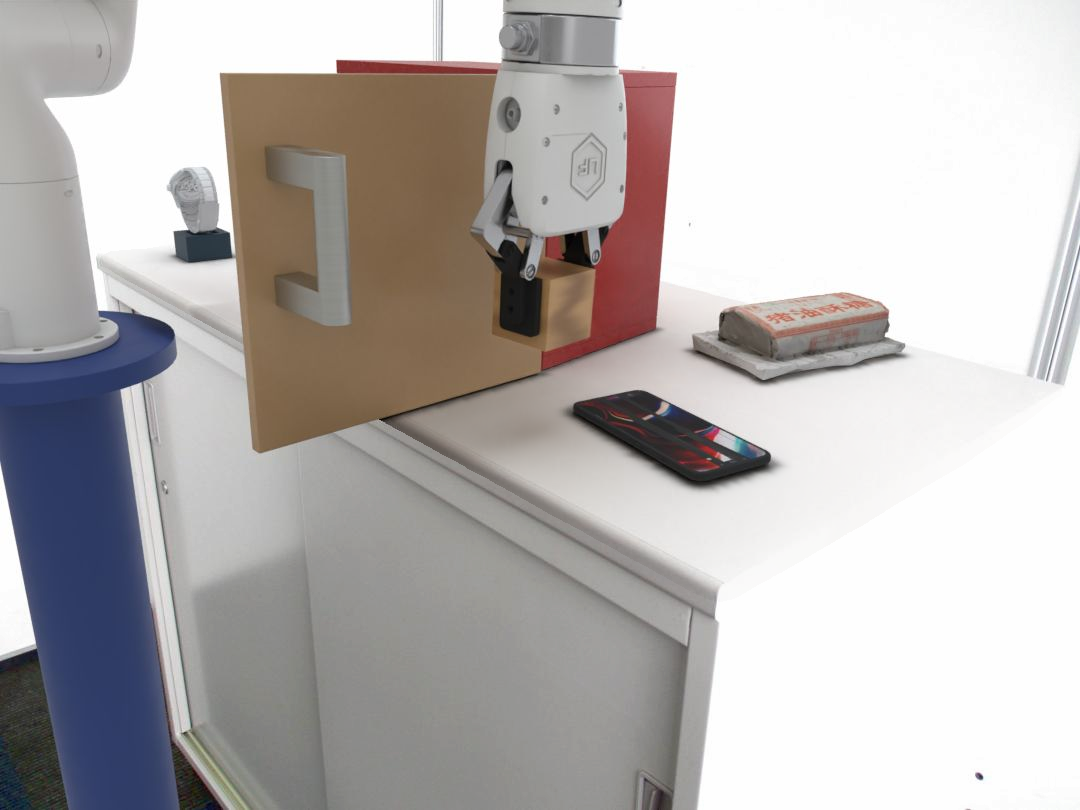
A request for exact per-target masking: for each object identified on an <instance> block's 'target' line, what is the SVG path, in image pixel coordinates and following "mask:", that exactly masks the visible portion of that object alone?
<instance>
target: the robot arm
mask: <svg viewBox="0 0 1080 810" xmlns="http://www.w3.org/2000/svg"><path fill="white" fill-rule="evenodd" d="M138 7H139V0H0V363H13V364H22V363H44V362H53V361H60V360H66V359H72V358H77V357H81V356H85V355H89V354H92V353H96V352H98V351H101V350H103V349H106V348H108V347H109V346H111V345H113V344H114V343H115V342H116V341H117V340H118V338H119V329H118V326H117V324H116V323H114V322H113V321H111V320H109V319H106V318H102V317H99V312H98V311H99V306H98V299H97V292H96V286H95V278H94V271H93V264H92V258H91V257H92V256H91V251H90V244H89V238H88V237H89V236H88V230H87V224H86V223H87V222H86V217H85V210H84V203H83V196H82V190H81V183H80V177H79V172H78V171H79V170H78V164H77V159H76V158H77V157H76V154H75V151H74V147H73V145H72V142H71V140H70V137H69V136H68V134H67V132H66V130H65V129H64V127H63V126H62V125H61V123H60V121H58V119H57V118H56V116H55V115H54V114H53V112H52V111H51V109H50V107H49V106H48V104H47V103H46V101H45V100H46V99H59V98H60V99H61V98H83V97H94V96H100V95H105V94H107V93H110V92H112V91H114V90H115V89H117V88H118V87H119V86H120V85H121V84H122V83H123V82H124V80H125V79H126V76H127V75H128V73H129V70H130V67H131V64H132V61H133V60H132V59H133V54H134V46H135V39H136V28H137V17H138ZM624 9H625V0H502V12H503V13H502V24H501V25H502V27H501V29H500V30H499V33H498V41H499V44H500V46H501V56H500V59H501V61H500V63H501V70H498V73H497V77H496V82H495V87H494V92H493V98H492V104H491V110H490V117H489V125H488V133H487V142H486V155H485V170H484V203H483V204H482V206H481V208H480V210H479V212H478V214H477V216H476V218H475V219H474V221H473V223H472V225H471V228H470V234H471V236H472V237H473V238H474V239H475V240H476V241H477V242H478V243H479V244H480V245H481V246H482V247H483V248H484V249H486V252H487V254H488V255H489V257H490V258H491V259H492V260H493V262H494V268H495V271H496V272H498V273H501V288H500V316H499V324H500V327H501V328H502V329H504V330H508V331H511V332H514V333H517V334H521V335H524V336H527V337H534V336H537V335H538V334H539V331H540V313H541V294H542V279H539V278H536V277H535V276H536V273H537V269H538V264H539V260H540V256H541V251H542V247H543V243H544V238H545V237H552V236H558V235H559V242H560V249H561V255H562V257H563V258H564V259H561V258H557V259H556V260H560V261H564V262H568V263H572V264H576V265H580V266H584V267H588V268H592V269H595V266H592V264H593V265H596V264H597V263H598V262H599V261H600V258H601V248H600V247H601V246H602V244H603V242H604V241H605V239H606V237H607V235H608V233H609V229H610V228H611V226H612V225H613V224H614V222H615V221H616V220H618V219H619V218H620V216H621V215H622V212H623V207H624V197H625V181H626V153H627V120H626V101H625V90H624V82H623V75H622V74H619V69H620V63H621V61H620V60H621V48H622V38H623V37H622V36H623V35H622V34H623V23H624V21H623V18H624ZM519 225H521V226H522V227H524V228H520V227H519ZM525 228H530V229H525ZM575 232H577V233H576V235H575ZM518 237H521V238H525V239H526V243H525V247H524V251H523V254H522V252H521V251H520V249H519V248H518V247H517V245H516V244H517V240H518Z"/></svg>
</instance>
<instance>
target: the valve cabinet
mask: <svg viewBox="0 0 1080 810" xmlns="http://www.w3.org/2000/svg"><path fill="white" fill-rule="evenodd" d="M335 63H336V64H335V67H336V73H364V74H497V73H498V70H501V62H488V61H467V60H465V61H464V60H462V61H461V60H394V59H393V60H392V59H391V60H390V59H389V60H387V59H385V60H383V59H382V60H381V59H336V60H335ZM619 74H622V75H623V82H624V90H625V101H626V120H627V153H626V181H625V197H624V207H623V212H622V215H621V216H620V218H619V219H618V220H616V221H615V222H614V224H613V225H612V226H611V228H610V229H609V233H608V235H607V237H606V239H605V241H604V242H603V244H602V246H601V247H600V248H601V258H600V261H599V262H598V263H597V264H596V265H593V264H592V266H595V270H596V271H595V282H594V294H593V306H592V318H591V330H590V337H589V338H586V339H583V340H580V341H577V342H574V343H571V344H568V345H565V346H562V347H559V348H556V349H553V350H550V351H547V352H544V351H542V355H541V371H544V370H546V369H547V370H548V369H549V368H552V367H555V366H557V365H560V364H564V363H566V362H569V361H571V360H574V359H577V358H581V357H582V356H585V355H587V354H591V353H593V352H596V351H599V350H601V349H604V348H608V347H610V346H613V345H616V344H619V343H621V342H624V341H626V340H629V339H631V338H635V337H637V336H640V335H643V334H645V333H648V332H651V331H654V330H656V329H657V322H658V321H657V320H658V310H659V299H660V298H659V296H660V284H661V272H662V261H663V260H662V259H663V247H664V236H665V224H666V211H667V199H668V188H669V187H668V185H669V174H670V163H671V162H670V161H671V151H672V150H671V149H672V137H673V128H674V127H673V124H674V114H675V102H676V89H677V80H678V72H673V71H655V70H654V71H653V70H638V69H637V70H636V69H620V68H619ZM576 233H577V232H575V235H576ZM545 257H548V258H552V259H557V258H561V259H564V258H563V257H562V255H561V249H560V242H559V235H558V236H552V237H546V242H545Z"/></svg>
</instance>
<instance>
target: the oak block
mask: <svg viewBox="0 0 1080 810" xmlns="http://www.w3.org/2000/svg"><path fill="white" fill-rule="evenodd" d="M595 271H596V270H595V269H592V268H588V267H584V266H580V265H576V264H572V263H568V262H564V261H560V260H556V259H552V258H548V257H544V256H540V260H539V264H538V269H537V273H536V276H535V277H536V278H539V279H542V294H541V313H540V331H539V334H538V335H537V336H534V337H527V336H524V335H521V334H517V333H514V332H511V331H508V330H504V329H502V328H501V327H500V324H499V316H500V288H501V273H498V272H496V271H495V274H494V297H493V321H492V335H495V336H498V337H501V338H504V339H508V340H511V341H514V342H517V343H520V344H523V345H526V346H529V347H532V348H535V349H538V350H541V351H544V352H547V351H550V350H553V349H556V348H559V347H562V346H565V345H568V344H571V343H574V342H577V341H580V340H583V339H586V338H589V337H590V330H591V318H592V306H593V294H594V282H595Z"/></svg>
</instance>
